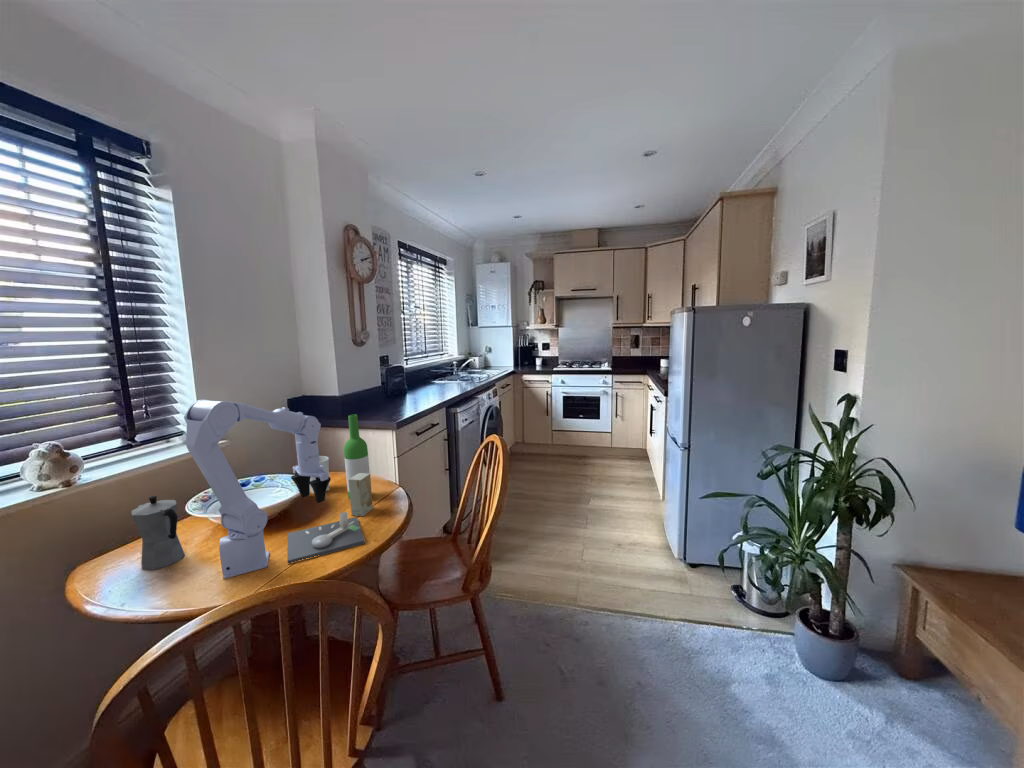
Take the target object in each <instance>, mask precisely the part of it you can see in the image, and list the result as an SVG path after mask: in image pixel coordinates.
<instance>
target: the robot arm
mask: <svg viewBox="0 0 1024 768" xmlns="http://www.w3.org/2000/svg"><path fill="white" fill-rule="evenodd" d="M183 419H184V421H185V424H186V431H185V432H186V434H185V439H186V440H185V446H186V448H187V451H188V452H189V455H190V456H191V457H192V459H193V461H194V463H195V464H196V465H197V467H198V469H199V470H200V472H201V474H202V475H203V477H204V479H205V481H206V482H207V484H208V485H209V488H210V489H211V491H212V493H214V496H215V497H216V499H217V501H218V502H219V503H220V507H219V508H218V509H217V510H218V512H219V515H220V524H221V526H222V527H223V528H225V529H227V534H228V535H225V536H222V537H220V539H219V543H218V545H219V547H218V549H219V557H220V559H219V560H220V566H221V571H222V572H221V573H222V579H228V578H232V577H234V576H240V575H243V574H246V573H251V572H254V571H258V570H262V569H265V568H268V566H269V558H270V557H269V556H270V551H268V550H266V545H265V544H266V543H265V537H264V536H265V535H264V528H265V527H266V525H267V524H268V514H267V512H266V511H265V510H263V509H262V508H259V506H258V504H257V503H256V502H255V501H254V500H252V499H251V498H250V497H248V496H247V494H246V493H245V490H244V489H243V486H242V485H241V484H240V482H239V480H238V478H237V477H236V475H235V473H234V471H233V469H232V467H231V466H230V463H228V460H227V458H226V456H225V455H224V453H223V451H222V450H221V448H220V446H219V443H220V441H221V439H223V437H224V436H225V435H226V434H227V433H228V432H229V431H230V429H231V428H233V426H234V425H235V424H236V423H237V422H238V423H239V422H243V420H244V419H245V420H246V419H247V420H249V421H250V420H251V421H255V422H256V421H257V422H263V423H266V424H268V426H269V427H270V428H271V429H272V430H275V431H276V430H277V431H282V432H286V433H290V434H292V435H294V438H295V450H296V458H297V465H294V466H292V472H293V474H294V475H291V476H290V479H291V480H292V481H293V482H294V484H295V485H296V487H297V490H298V492H299V495H300V497H301V498H302V499H304V498H307V497H308V496H310V494H311V490H310V485H311V487H312V488H313V491H314V494H313V495H314V498H315V502H316V503H317V504H319V503H323V502H324V501H325V500H326V494H327V492H326V489H327V486H328V484H329V485H330V481H331V477H330V476H329V477H328V473H327V472H325V471H324V470H323V468H324V466H322V465H320V460H319V456H320V451H319V444H318V443H319V441H318V439H319V433H320V430H321V425H322V423H320V422H319V420H318V418H317V417H316V416H313V415H306V414H304V413H303V412H301V411H298V412H295V411H291V410H290V409H289V408H288V407H284V406H283V407H281V408H275V409H274V410H272V411H271V410H269V409H265V408H262V407H261V408H260V407H258V406H254V405H250V404H247V403H243V402H232V401H228V400H227V401H222V400H209V399H203V398H202V399H198V400H195V401H193V402H192V403H191V404H190V405H189V407H188V409H187V411H186V412H185V414H184V416H183ZM311 477H314V478H316V480H313V481H310V478H311Z"/></svg>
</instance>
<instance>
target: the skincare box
mask: <svg viewBox="0 0 1024 768" xmlns="http://www.w3.org/2000/svg"><path fill="white" fill-rule="evenodd" d="M371 479H372V478H371V473H370V474H367V473H358V474H357V475H355V476H353V477H352V478H350V479H349V491H350V499H349V502H350V515H351V516H355V517H364V516H365V515H366V514H368V513H369V512H370V511H371V510H373V508H374V507H373V495H372V482H371V481H372V480H371Z"/></svg>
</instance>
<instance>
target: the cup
mask: <svg viewBox="0 0 1024 768" xmlns="http://www.w3.org/2000/svg"><path fill="white" fill-rule="evenodd" d="M319 460H320V465H322V466H324V468H323V470H324V471H325V472H327V473H328V477H330V471H329V469H330V467H329V466H330V463H329V462H330V457H329V456H325V455H319ZM313 480H316V478H314V477H311V478H310V481H313ZM328 489H329V490H330V483H329V484H328V486H327V489H326V491H327V490H328ZM329 490H328V491H329ZM328 491H327V492H328ZM311 492H312V493H314V491H313V488H312V487H311V485H310V493H311ZM312 493H311V494H312Z"/></svg>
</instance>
